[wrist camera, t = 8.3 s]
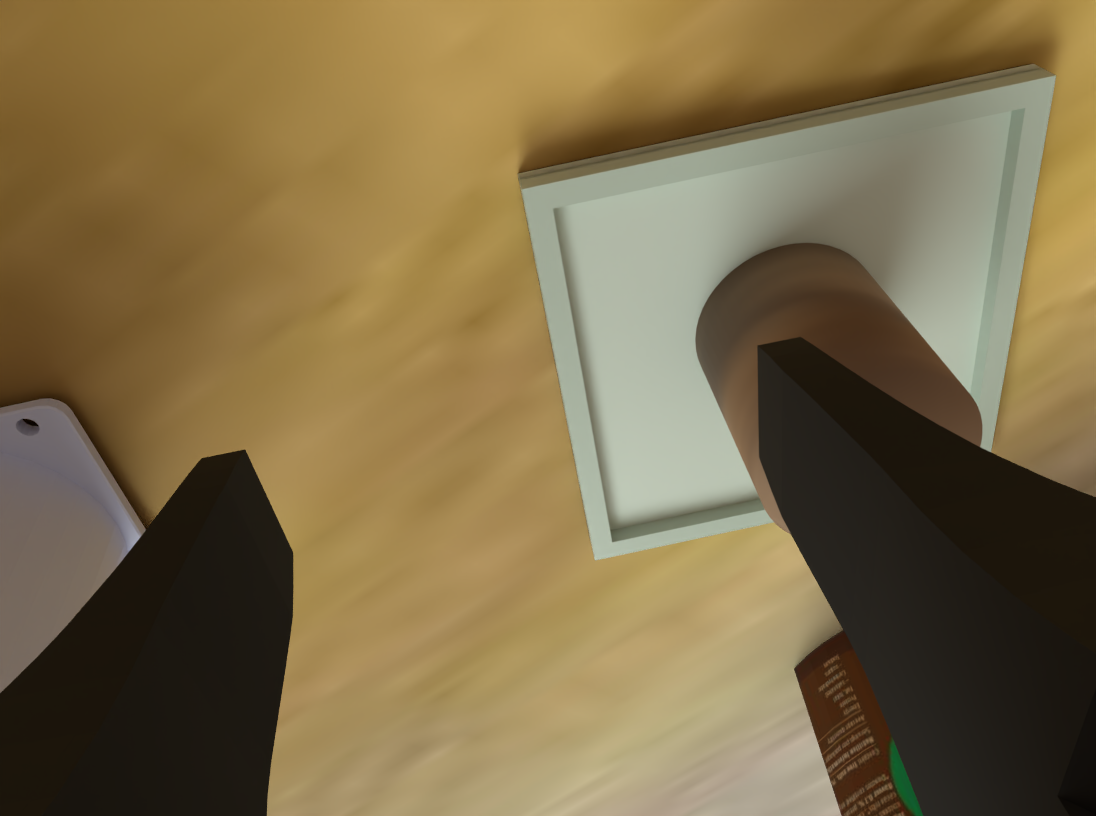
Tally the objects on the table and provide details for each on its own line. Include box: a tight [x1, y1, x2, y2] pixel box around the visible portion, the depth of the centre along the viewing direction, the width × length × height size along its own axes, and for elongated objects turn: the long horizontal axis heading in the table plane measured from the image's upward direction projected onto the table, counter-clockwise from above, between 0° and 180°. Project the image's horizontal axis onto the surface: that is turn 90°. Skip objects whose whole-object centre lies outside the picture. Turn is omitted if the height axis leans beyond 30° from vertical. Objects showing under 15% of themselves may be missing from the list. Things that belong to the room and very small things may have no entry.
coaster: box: [518, 64, 1056, 560], centre depth 24 cm, size 12×12×1 cm
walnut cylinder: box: [695, 243, 983, 534], centre depth 21 cm, size 5×5×6 cm
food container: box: [794, 631, 923, 816], centre depth 29 cm, size 12×6×10 cm, turn 65°
